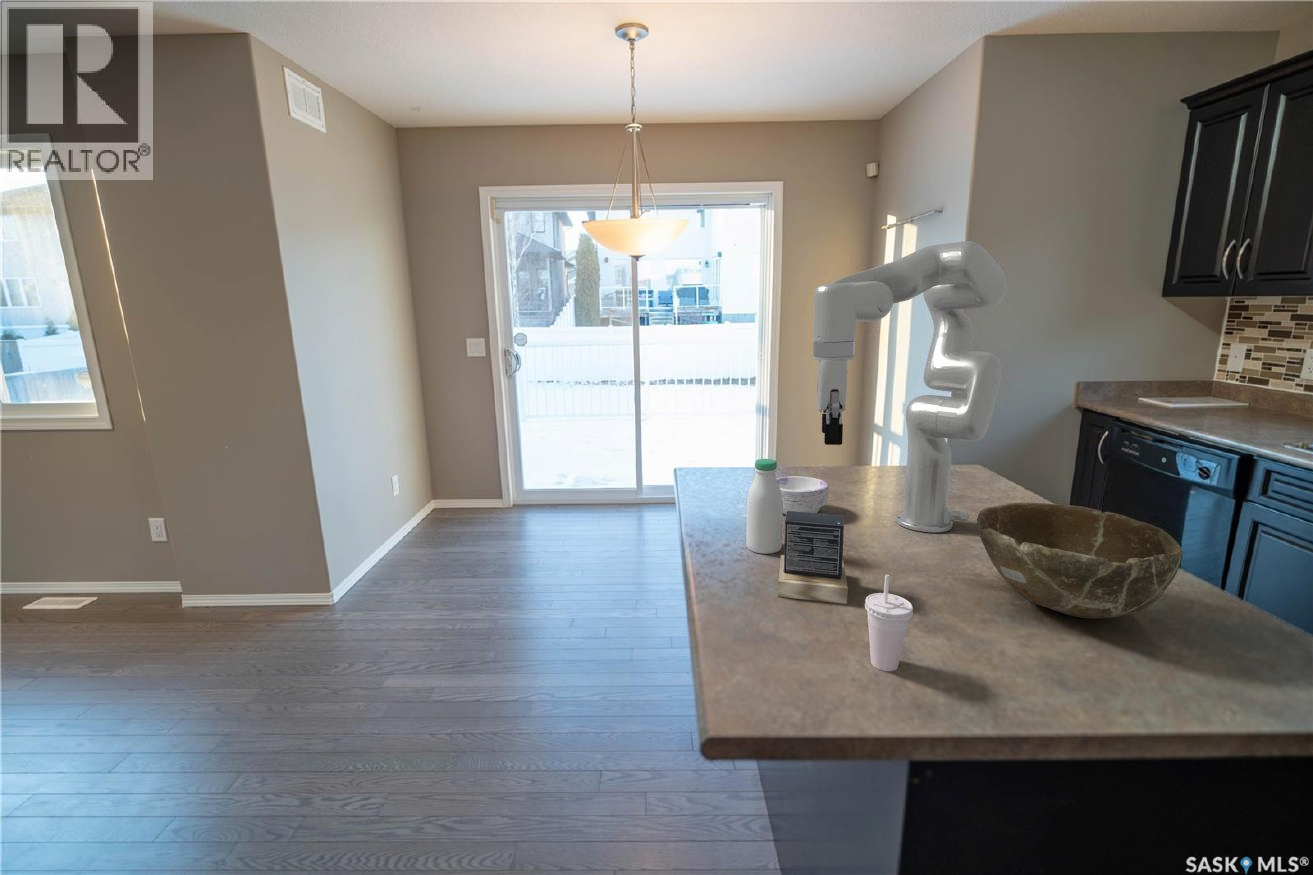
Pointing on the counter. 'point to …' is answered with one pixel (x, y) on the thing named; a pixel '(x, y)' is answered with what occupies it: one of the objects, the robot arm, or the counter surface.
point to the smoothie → (887, 627)
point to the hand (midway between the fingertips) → (831, 438)
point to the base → (812, 586)
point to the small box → (814, 544)
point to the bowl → (1079, 557)
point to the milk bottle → (764, 510)
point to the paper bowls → (803, 493)
